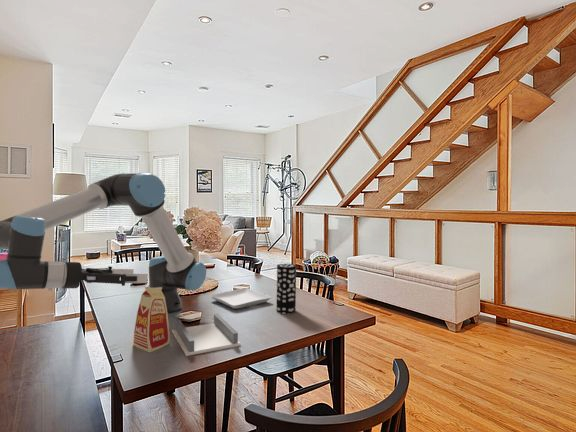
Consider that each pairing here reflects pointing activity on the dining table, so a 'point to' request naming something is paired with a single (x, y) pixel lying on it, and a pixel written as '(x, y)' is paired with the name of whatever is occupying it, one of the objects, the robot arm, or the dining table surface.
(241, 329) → the dining table surface
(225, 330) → the rail board
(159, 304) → the milk carton
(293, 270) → the white-spotted black cylinder
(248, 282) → the dining table surface
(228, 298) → the salad plate
